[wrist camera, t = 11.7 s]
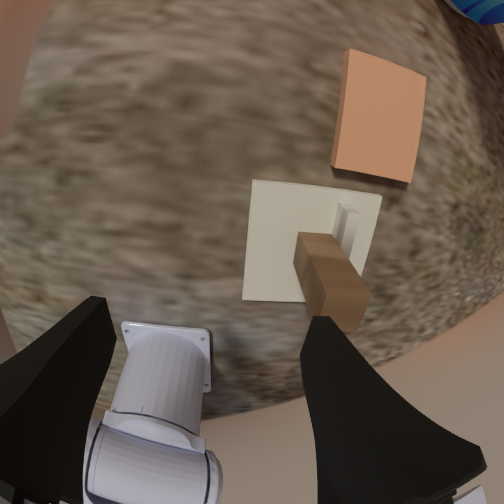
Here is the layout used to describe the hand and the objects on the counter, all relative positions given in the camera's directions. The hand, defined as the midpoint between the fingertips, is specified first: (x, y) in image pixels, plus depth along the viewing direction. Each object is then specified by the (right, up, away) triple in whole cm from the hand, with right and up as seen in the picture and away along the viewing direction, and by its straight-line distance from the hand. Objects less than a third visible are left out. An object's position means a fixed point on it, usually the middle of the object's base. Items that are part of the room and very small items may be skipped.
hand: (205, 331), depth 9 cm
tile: (+7, +12, +6) cm, 15 cm away
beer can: (+19, +25, 0) cm, 32 cm away
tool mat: (+6, +3, +10) cm, 12 cm away
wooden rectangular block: (+6, +3, +10) cm, 12 cm away
